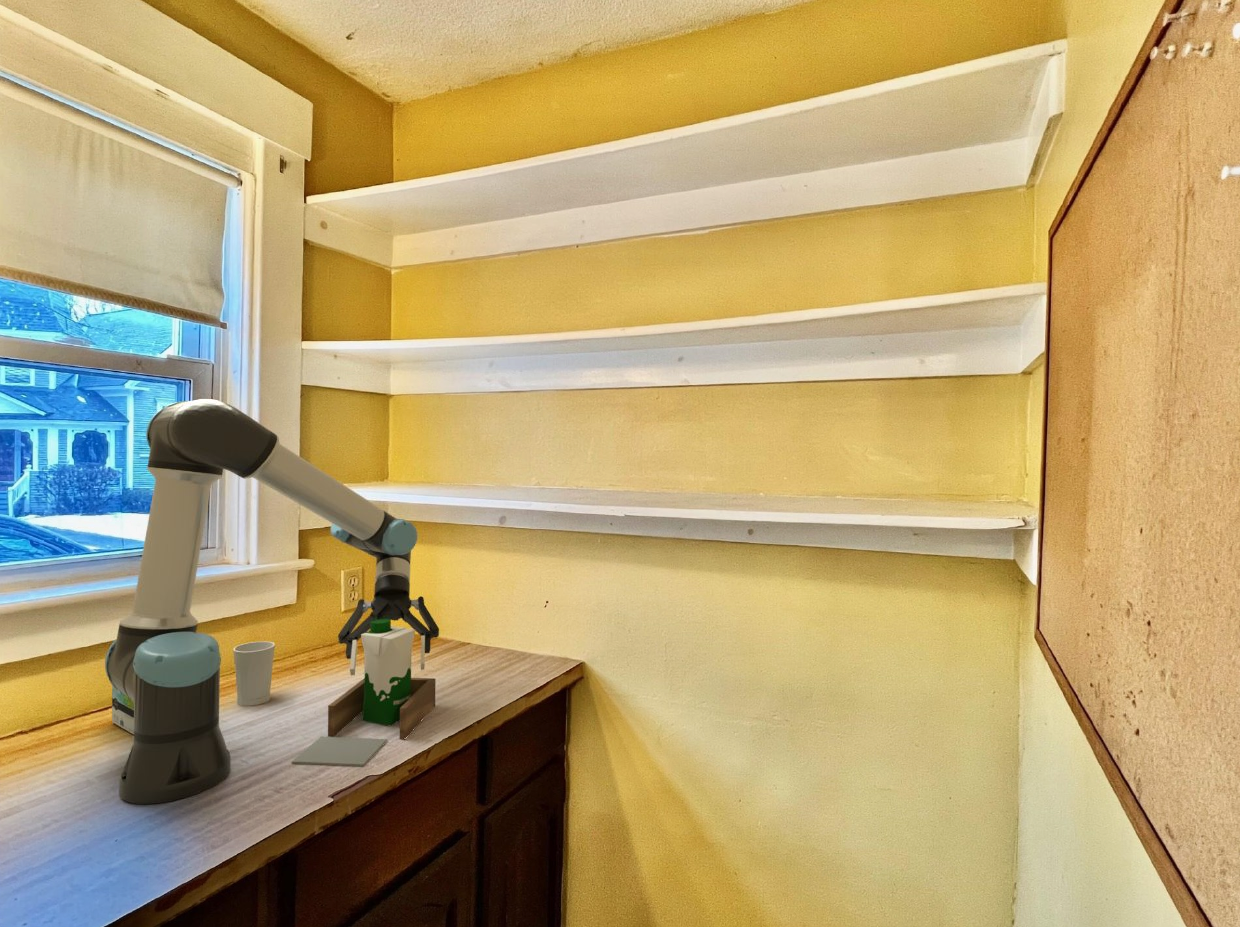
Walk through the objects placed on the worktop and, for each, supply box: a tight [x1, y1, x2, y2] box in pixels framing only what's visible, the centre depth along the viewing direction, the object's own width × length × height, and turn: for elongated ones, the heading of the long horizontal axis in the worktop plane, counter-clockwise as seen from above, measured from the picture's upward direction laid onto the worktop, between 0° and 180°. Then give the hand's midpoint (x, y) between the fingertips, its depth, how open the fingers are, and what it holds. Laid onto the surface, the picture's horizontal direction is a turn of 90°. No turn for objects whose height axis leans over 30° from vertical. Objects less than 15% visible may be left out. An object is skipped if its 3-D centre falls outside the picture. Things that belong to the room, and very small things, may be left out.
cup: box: [232, 640, 276, 707], centre depth 139 cm, size 8×8×12 cm
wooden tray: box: [327, 677, 436, 740], centre depth 130 cm, size 15×17×6 cm
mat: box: [290, 736, 388, 767], centre depth 116 cm, size 13×10×1 cm
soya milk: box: [360, 619, 416, 726], centre depth 131 cm, size 9×9×20 cm
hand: (388, 669), depth 129 cm, fingers open, 13 cm apart
